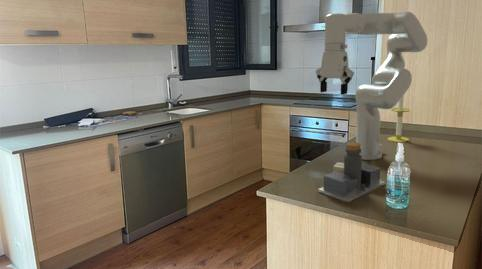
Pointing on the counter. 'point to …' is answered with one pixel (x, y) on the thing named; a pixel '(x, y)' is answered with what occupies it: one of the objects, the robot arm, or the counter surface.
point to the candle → (399, 122)
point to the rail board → (351, 184)
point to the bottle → (353, 161)
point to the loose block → (339, 168)
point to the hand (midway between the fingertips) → (333, 92)
